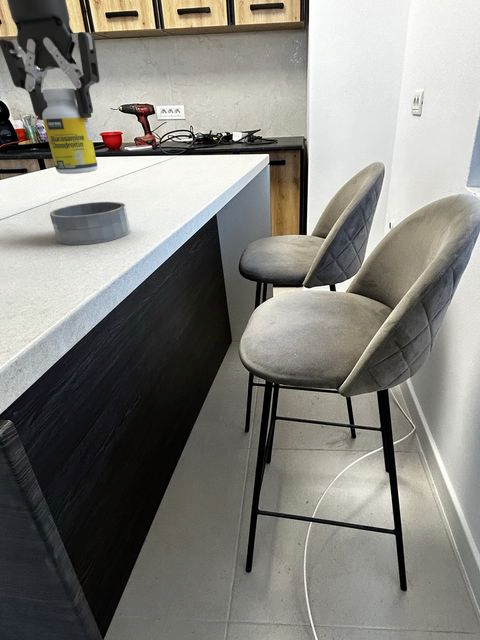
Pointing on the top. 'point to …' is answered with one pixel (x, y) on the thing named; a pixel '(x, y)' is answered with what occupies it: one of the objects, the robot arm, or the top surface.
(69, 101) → the pill bottle
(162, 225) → the top surface
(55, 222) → the dish
